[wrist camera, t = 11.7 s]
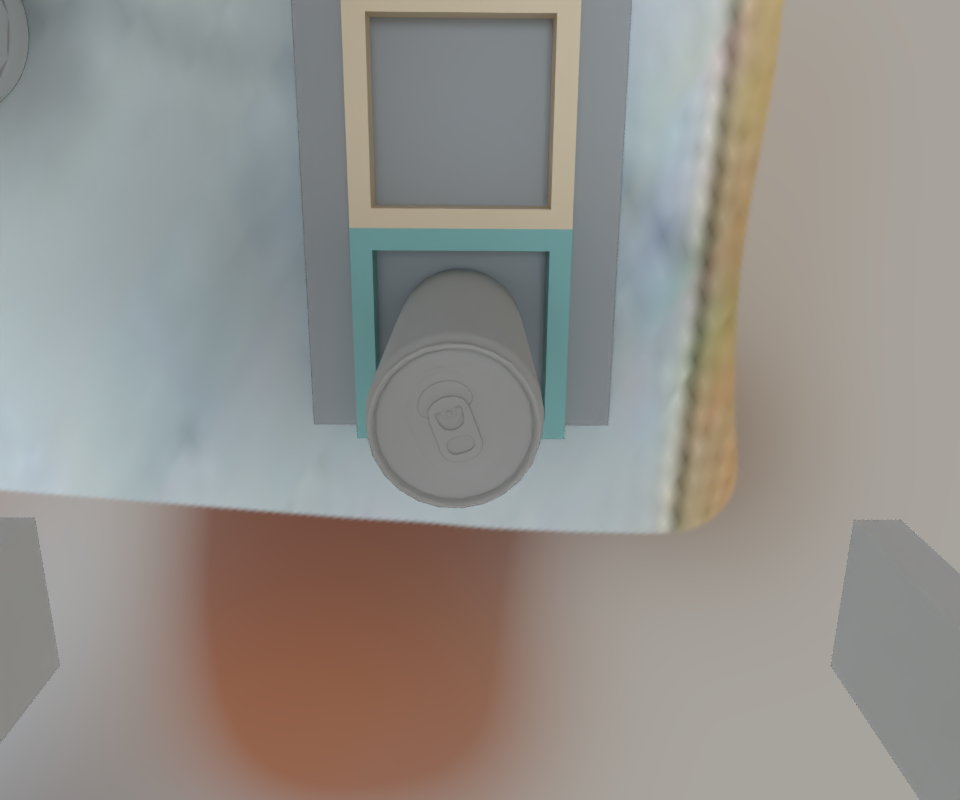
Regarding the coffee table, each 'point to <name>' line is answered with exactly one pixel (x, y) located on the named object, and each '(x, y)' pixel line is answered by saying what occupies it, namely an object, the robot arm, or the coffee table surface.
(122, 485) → the coffee table surface
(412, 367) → the beverage can
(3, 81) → the cup
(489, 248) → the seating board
